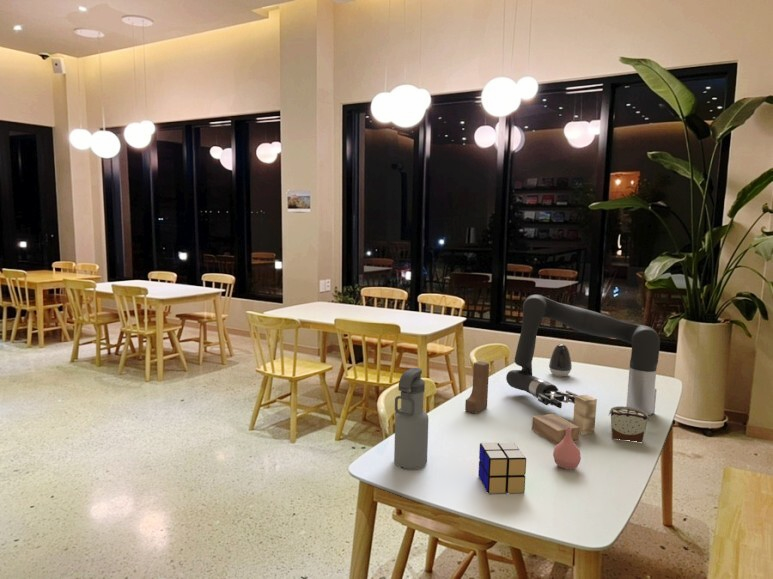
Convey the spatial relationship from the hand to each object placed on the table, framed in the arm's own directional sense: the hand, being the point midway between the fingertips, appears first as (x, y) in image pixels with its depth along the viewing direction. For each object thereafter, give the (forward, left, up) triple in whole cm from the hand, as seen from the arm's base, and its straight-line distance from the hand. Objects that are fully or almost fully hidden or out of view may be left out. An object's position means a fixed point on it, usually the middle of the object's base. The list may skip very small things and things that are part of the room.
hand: (570, 404), depth 184 cm
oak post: (0, +7, -7) cm, 10 cm away
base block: (+12, +7, -7) cm, 16 cm away
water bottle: (+67, +12, -7) cm, 69 cm away
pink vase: (+24, +28, -7) cm, 38 cm away
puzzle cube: (+48, +31, -7) cm, 58 cm away
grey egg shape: (-36, -52, -7) cm, 63 cm away
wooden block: (+26, -22, -7) cm, 35 cm away
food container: (-10, +16, -7) cm, 20 cm away
